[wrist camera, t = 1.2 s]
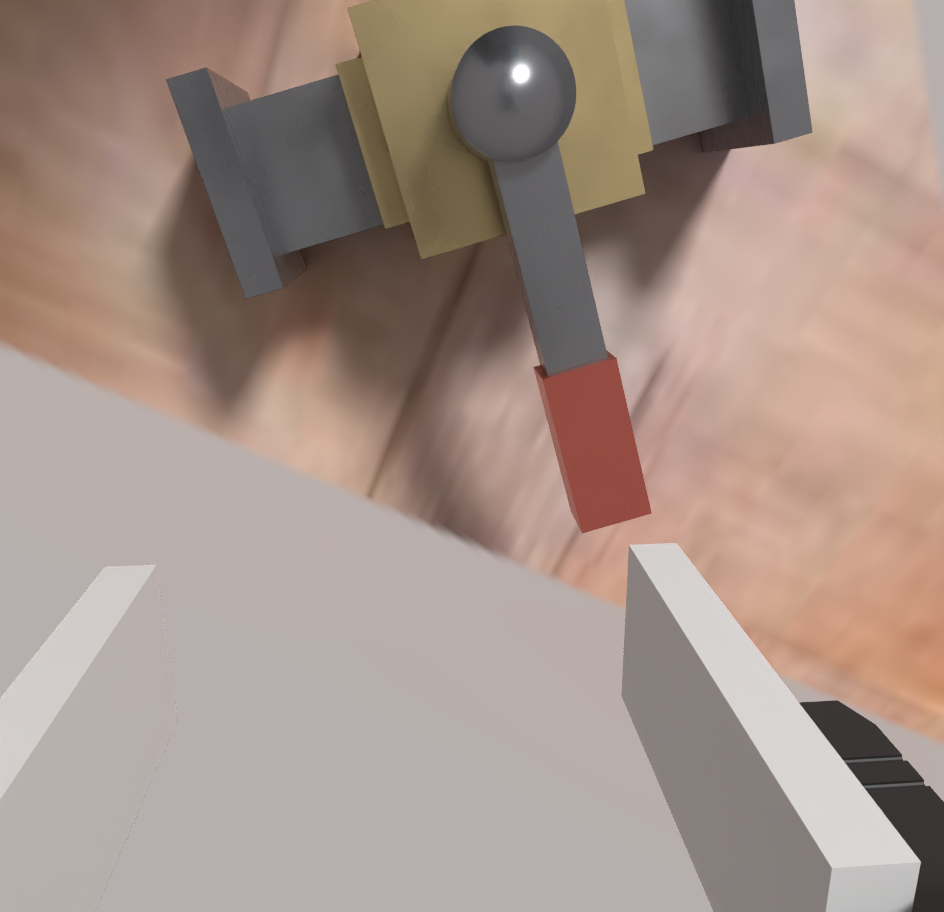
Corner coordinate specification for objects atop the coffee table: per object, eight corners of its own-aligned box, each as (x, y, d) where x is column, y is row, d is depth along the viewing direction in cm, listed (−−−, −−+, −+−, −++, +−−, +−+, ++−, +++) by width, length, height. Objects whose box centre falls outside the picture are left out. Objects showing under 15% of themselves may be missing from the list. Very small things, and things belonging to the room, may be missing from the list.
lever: (434, 59, 23) (437, 45, 21) (544, 27, 23) (560, 9, 21) (554, 512, 28) (568, 541, 25) (648, 485, 28) (670, 512, 25)
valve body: (211, 93, 30) (155, 65, 23) (701, -53, 29) (787, -123, 23) (279, 285, 32) (245, 310, 25) (735, 151, 32) (823, 141, 25)
